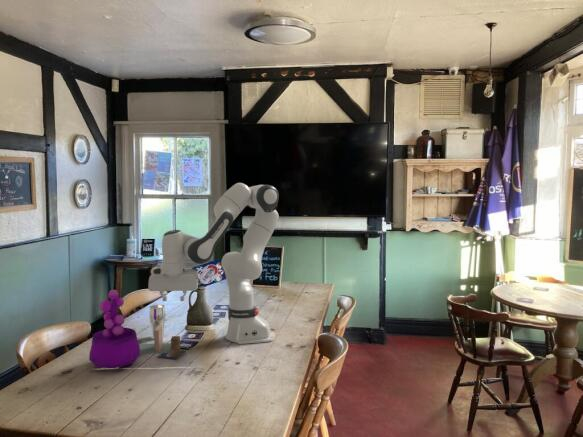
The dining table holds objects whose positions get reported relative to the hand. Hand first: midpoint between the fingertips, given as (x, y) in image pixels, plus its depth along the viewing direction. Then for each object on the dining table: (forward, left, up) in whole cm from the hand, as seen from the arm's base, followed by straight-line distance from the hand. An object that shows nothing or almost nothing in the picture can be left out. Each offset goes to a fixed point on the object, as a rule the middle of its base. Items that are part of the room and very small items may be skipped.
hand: (173, 300), depth 204 cm
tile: (+6, 0, -21) cm, 22 cm away
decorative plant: (+20, +16, -21) cm, 33 cm away
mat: (+10, 0, -21) cm, 23 cm away
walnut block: (-2, +8, -21) cm, 23 cm away
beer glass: (+10, -14, -21) cm, 27 cm away
